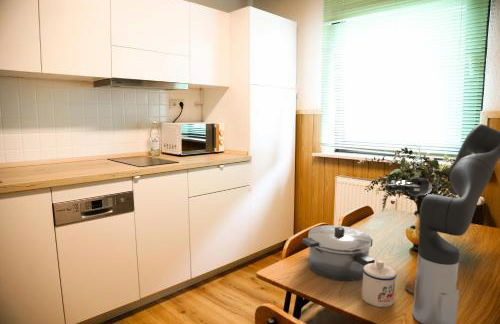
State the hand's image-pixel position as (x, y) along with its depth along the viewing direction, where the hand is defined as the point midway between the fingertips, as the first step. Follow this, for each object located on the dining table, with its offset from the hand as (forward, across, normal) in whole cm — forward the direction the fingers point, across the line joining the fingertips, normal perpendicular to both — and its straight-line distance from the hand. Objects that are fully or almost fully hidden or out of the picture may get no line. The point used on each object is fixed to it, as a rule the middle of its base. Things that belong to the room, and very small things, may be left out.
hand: (387, 187), depth 123 cm
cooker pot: (+19, 0, +27) cm, 33 cm away
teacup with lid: (+22, +21, +28) cm, 41 cm away
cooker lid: (+22, 0, +17) cm, 28 cm away
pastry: (+6, +23, +28) cm, 37 cm away
